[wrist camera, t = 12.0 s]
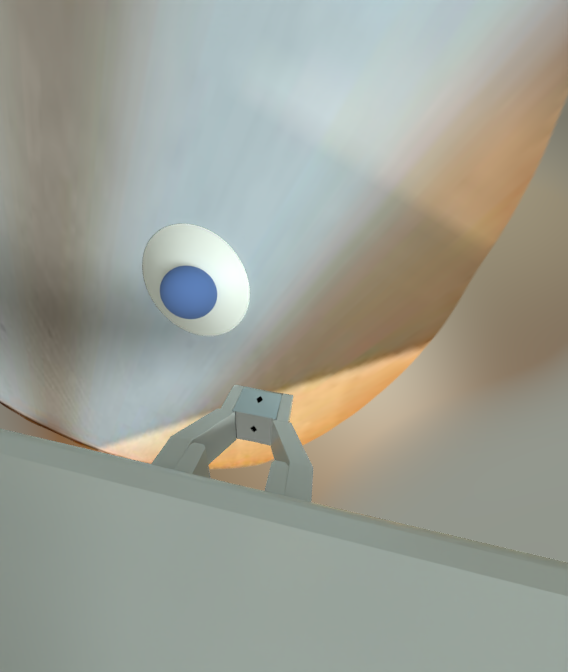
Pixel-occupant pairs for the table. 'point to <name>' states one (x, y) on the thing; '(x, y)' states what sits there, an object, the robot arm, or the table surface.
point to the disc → (212, 257)
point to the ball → (188, 292)
